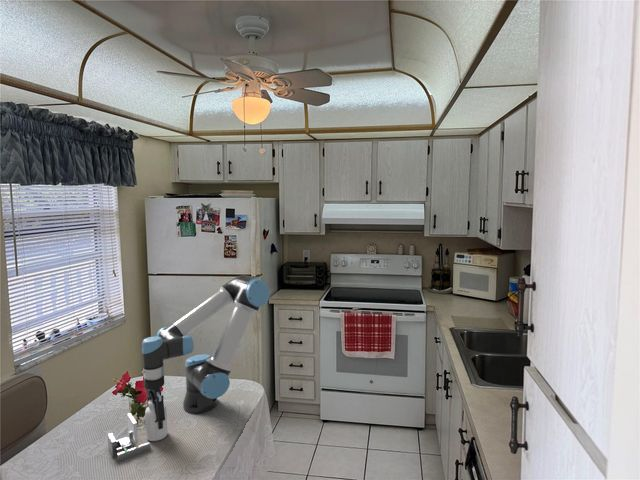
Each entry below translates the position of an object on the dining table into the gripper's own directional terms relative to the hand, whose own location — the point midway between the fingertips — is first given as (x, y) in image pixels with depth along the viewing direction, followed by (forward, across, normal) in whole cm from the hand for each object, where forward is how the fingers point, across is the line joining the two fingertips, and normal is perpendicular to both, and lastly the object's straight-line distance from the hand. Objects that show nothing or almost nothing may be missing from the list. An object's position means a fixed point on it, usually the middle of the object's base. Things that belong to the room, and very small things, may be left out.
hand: (156, 430), depth 165 cm
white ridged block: (+2, +2, -11) cm, 11 cm away
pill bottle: (+2, 0, 0) cm, 2 cm away
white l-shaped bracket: (+2, +2, -11) cm, 11 cm away
